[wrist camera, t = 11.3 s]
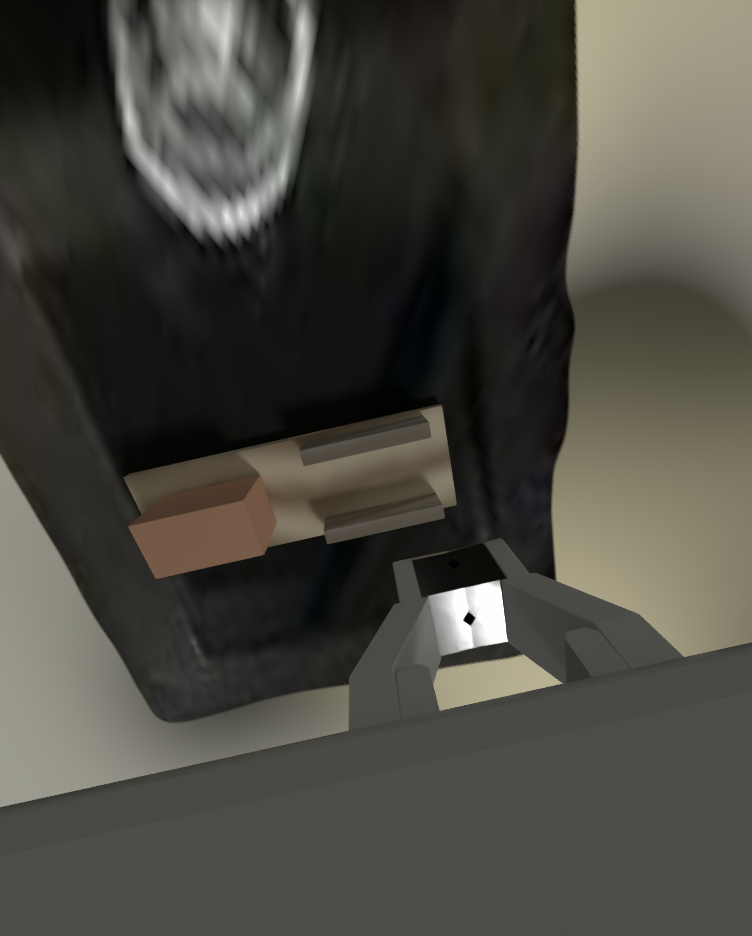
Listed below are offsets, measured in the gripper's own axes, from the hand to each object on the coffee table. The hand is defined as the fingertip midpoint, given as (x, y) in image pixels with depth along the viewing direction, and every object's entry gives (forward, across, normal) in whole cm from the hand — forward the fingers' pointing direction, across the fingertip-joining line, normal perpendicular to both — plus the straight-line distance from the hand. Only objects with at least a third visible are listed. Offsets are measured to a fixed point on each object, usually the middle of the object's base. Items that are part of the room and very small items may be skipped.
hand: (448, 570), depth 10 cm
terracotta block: (+26, +18, +7) cm, 32 cm away
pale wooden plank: (+27, +10, +7) cm, 30 cm away
